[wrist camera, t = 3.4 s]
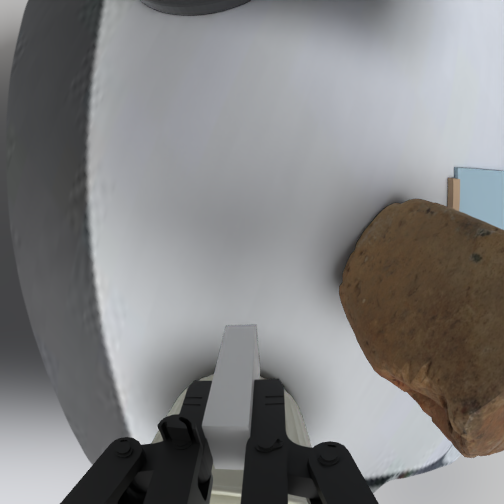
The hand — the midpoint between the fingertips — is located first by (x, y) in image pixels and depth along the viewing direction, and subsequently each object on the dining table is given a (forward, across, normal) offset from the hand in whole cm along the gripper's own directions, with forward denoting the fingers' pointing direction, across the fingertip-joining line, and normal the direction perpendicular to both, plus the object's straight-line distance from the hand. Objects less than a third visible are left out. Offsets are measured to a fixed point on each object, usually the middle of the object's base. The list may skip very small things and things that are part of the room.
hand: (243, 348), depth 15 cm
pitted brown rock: (+13, +12, 0) cm, 17 cm away
